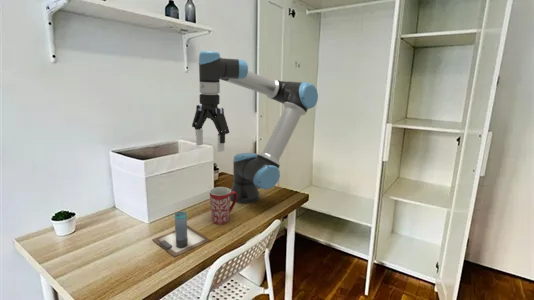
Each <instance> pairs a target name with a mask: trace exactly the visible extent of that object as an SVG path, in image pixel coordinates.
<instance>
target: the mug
mask: <svg viewBox="0 0 534 300" xmlns="http://www.w3.org/2000/svg"><path fill="white" fill-rule="evenodd" d="M208 193H209V200H210V214H211V222H212V223H213V224H215V225H223V224H224V225H225V224H227V223H228V222H229V221H230V213H231V212H232V210H233V209H234V207H235V205H236V203H237V202H236V201H237V193H236V192H234V191H231V188H228V187H226V186H225V187H224V186H216V187H212V188H211V189H209V191H208ZM233 193H234V200H233V201H232V203H231V199H230V197H231V195H232V194H233Z"/></svg>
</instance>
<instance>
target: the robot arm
mask: <svg viewBox="0 0 534 300" xmlns="http://www.w3.org/2000/svg"><path fill="white" fill-rule="evenodd" d="M198 72H199V73H198V74H199V76H198V77H199V80H198V81H199V93H200V94H199V104H197V105H196V107H195V108H196V110H195V114H194V117H193V121H192V124H191V128H194V130H195V138H196V139H195V145H196V146H197V147H198V146H203V144H204V141H203V140H204V137H203V136H204V134H203V132H204V130H203V126H204V124H205V122H206V120H207V119H210V120H211V121H212V123H213V124H214V126H215V129H216V130H217V132H218V134H217V153H222V152H224V151H225V144H226V135H228V134H230V130H229V126H228V123H227V120H226V117H225V113H224V112H225V109H224V108H223V107H218V105H219V104H220V102H221V101H220V100H221V99H220V91H221V90H220V88H221V87H220V85H221V84H220V81H225V82H228V83H230V84H234V85H236V86H239V87H242V88H245V89H247V90H251V91H254V92H256V93H257V92H258V93H260V94H263V95H266V97H267V98H268V99H271V100H273V101H275V102H278V103H281V104H283V106H284V109H283V111H282V112H281V115H280V116H279V118H278V121H277V122H276V125H275V126H274V129H272V132H271V135H270V137H269V138H268V140H267V143H266V145H265V146H264V149H263V151H262V152H260V153H256V152H255V153H254V152H244V153H236V154H235V155H234V157H233V162H232V163H233V169H232V170H233V180H232V181H233V182H232V185H231V188H230V190H231V191H234V192H236V193H237V201H236V203H238V204H251V203H255V202H258V201H259V200H260V191H259V189H262V190H269V189H271V188H273V187H275V186H276V184H278V182H279V180H280V178H281V177H280V176H281V175H280V173H281V172H280V166H281V163H280V159H281V157H282V154H283V153H284V150H285V149H286V147H287V145H288V143H289V140H290V139H291V137H292V135H293V133H294V130H295V129H296V127H297V125H298V123H299V120H300V119H301V117H302V116H305V115H306V114H307V112H308V110H309V109H310V110H311V109H312V108H314V107H315V106H317V103H318V101H319V100H318V99H319V94H318V89H317V88H316V86H315V84H313V83H311V82H307V81H286V80H285V81H284V80H278V79H276V78H273V79H269V78H267V77H264V76H261V75H259V74H257V73H254V72H251V71H249V65H248V63H247V62H246V60H244V59H239V58H237V59H236V58H223V57H221V55H220V52H219V51H214V50H202V51H200V52H199V56H198ZM233 200H234V193H233V194H232V195H231V197H230V201H232V202H233Z"/></svg>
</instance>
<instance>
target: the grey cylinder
mask: <svg viewBox="0 0 534 300" xmlns="http://www.w3.org/2000/svg"><path fill="white" fill-rule="evenodd" d="M187 216H188V213H187V212H186V211H177V212H175V213H174V227H175V230H174V231H175V232H176V247H177V248H185V247H187V246H188V236H187V226H188V217H187Z"/></svg>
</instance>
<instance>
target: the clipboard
mask: <svg viewBox="0 0 534 300" xmlns="http://www.w3.org/2000/svg"><path fill="white" fill-rule="evenodd" d="M187 236H188V246H187V247H185V248H177V247H176V232H175V230H173V231H171V232H167V233H165V234H163V235H159V236H157V237H154V238H152V241H153V242H154V243H155V244H157V245H158V246H159V247H160V248H162V250H164V251H165V252H167V253H168V254H170V255H171V256H172V257H173V258H177V257H178V256H181V255H183V254H185V253H188V252H189V251H192V250H194V249H196V248H197V247H200V246H202V245H204V244H207V243H209V242H211V239H210V238H209V237H207V236H205V235H204V234H202V233H200V232H199V231H198V230H196V229H194V228H193V227H191V226H189V225H187Z"/></svg>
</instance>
